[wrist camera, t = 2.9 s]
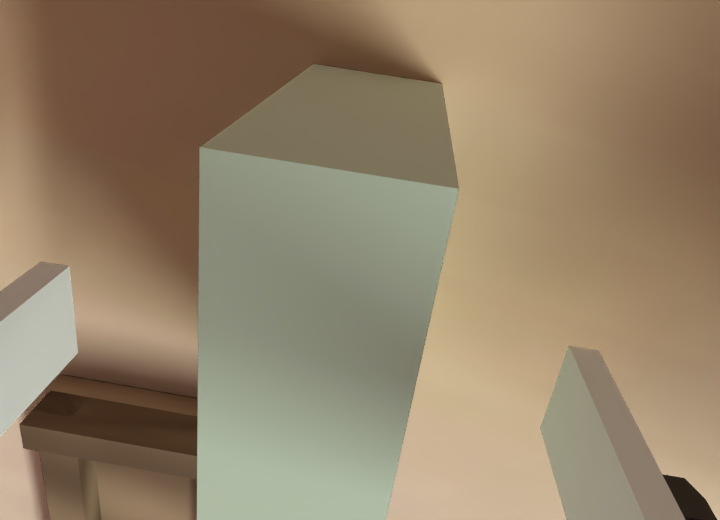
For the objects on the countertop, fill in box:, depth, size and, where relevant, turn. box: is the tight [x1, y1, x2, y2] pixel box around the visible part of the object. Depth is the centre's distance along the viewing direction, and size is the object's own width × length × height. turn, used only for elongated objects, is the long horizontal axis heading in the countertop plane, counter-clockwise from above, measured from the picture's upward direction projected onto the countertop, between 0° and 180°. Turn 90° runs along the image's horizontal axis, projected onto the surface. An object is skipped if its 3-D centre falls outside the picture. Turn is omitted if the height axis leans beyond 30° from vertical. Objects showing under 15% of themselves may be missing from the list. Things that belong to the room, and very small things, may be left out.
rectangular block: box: [197, 64, 459, 520], centre depth 16 cm, size 12×4×10 cm, turn 172°
